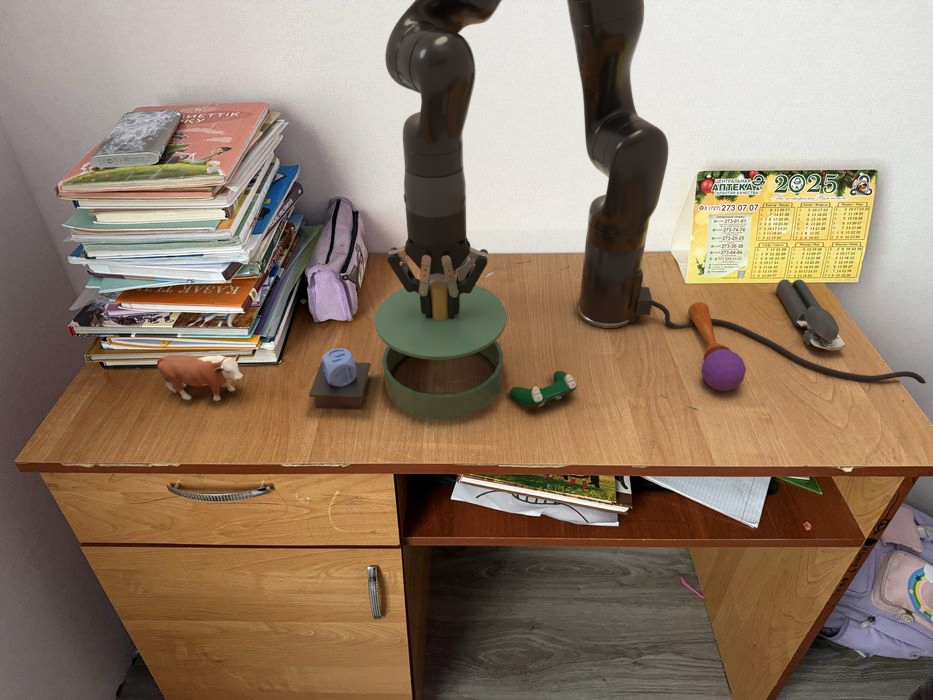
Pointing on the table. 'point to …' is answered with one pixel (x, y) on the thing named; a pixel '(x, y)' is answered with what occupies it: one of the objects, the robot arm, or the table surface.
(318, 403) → the stand
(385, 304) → the tin lid
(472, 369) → the table surface
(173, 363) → the bull figurine
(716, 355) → the purple maraca
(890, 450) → the table surface
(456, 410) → the tin
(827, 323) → the can opener
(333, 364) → the decorative dice
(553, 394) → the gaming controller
